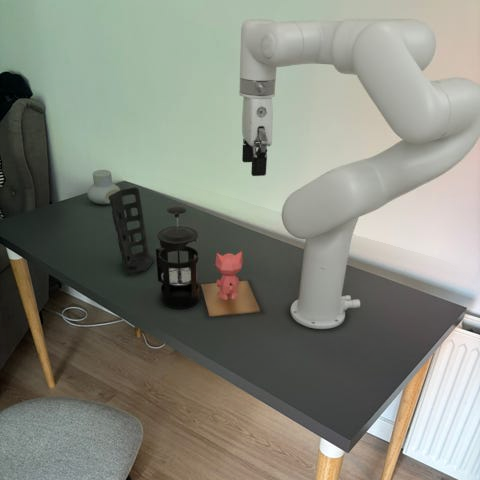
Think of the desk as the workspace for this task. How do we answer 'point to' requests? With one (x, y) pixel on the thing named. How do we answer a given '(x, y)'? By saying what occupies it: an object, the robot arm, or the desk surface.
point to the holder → (124, 233)
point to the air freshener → (102, 187)
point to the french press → (177, 264)
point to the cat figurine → (228, 274)
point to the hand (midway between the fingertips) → (253, 168)
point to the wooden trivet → (229, 300)
